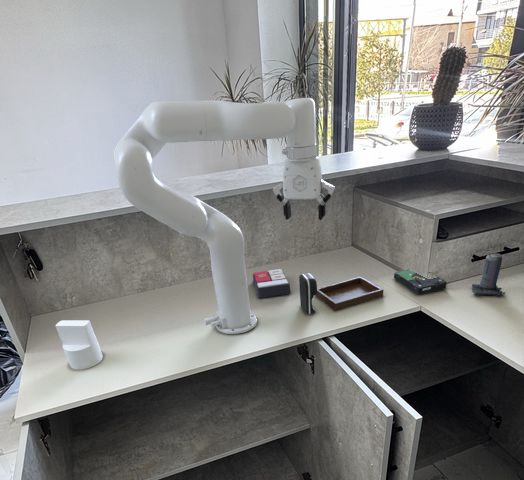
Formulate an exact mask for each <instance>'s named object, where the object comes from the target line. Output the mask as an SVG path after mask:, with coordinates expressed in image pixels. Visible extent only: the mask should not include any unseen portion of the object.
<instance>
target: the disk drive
mask: <svg viewBox="0 0 524 480" xmlns="http://www.w3.org/2000/svg"><path fill="white" fill-rule="evenodd" d="M409 269H410V268H407V269H404V270H399V271H395V273H394V274H393V279H394V280H395V281H397V282H398V283H400V284H401V285H403V286H404V287H406V288H407V289H409V290H410V291H411V292H412V293H415V294H416V295H418V296H420V295H424V294H429V293H433V292H437V291H442V290H445V289H447V281H446V280H445V279H443V278H441V277H439V276H438V277H437V278H433V279H427V278H425V277H423V276H421V275H419V274H417V273H415V272H413V271H411V270H409Z"/></svg>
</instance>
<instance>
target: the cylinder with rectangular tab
mask: <svg viewBox="0 0 524 480" xmlns="http://www.w3.org/2000/svg"><path fill="white" fill-rule="evenodd" d="M55 328H56V331H57V334H58V336H59V339H60V342H61V344H62V349H63V352H64V354H65V357H66V359H67V362H68V364H69V367H70V368H71V369H73V370H85V369H89V368H92V367H94V366H96V365H97V364H99V363H100V362H101V361H102V360H103V358H104V357H103V356H104V355H103V353H102V349H101V347H100V344H99V341H98V338H97V336H96V334H95V332H94V329H93V326H92V323H91V321H90V320H89V319H87V320H83V319H82V320H78V319H77V320H73V319H71V320H67V319H66V320H65V319H62V320H60V321H58V322H57V323H56V324H55Z"/></svg>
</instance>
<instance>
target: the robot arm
mask: <svg viewBox="0 0 524 480" xmlns="http://www.w3.org/2000/svg"><path fill="white" fill-rule="evenodd" d="M316 132H317V131H316V103H315V101H314V99H313V98H311V97H300V98H293V99H290V100H285V101H271V100H269V101H263V102H234V101H227V100H219V99H218V100H217V99H214V100H213V99H211V100H209V99H208V100H171V101H169V100H168V101H167V100H165V101H164V100H155V101H153V102H151V103H149V104H148V105H147V106H146V107H145V108H144V110H143V111H142V113H141V114H140V115H139V116H138V117H137V119H136V120H135V122H134V123H133V124H132V125H131V126H130V127H129V128H128V130H127V131H126V132H125V133H124V135H123V136H122V137H121V138H120V139H119V141H118V142H117V144H116V145H115V147H114V149H113V161H114V164H115V171H116V179H117V183H118V186H119V189H120V191H121V193H122V194H123V196H124V198H125V199H126V200H127V201H128V202H129V203H130V204H131V205H132V206H133V207H135V208H136V209H137V210H139V211H141V212H143V213H144V214H146V215H148V216H150V217H152V218H153V219H155V220H156V221H157V222H160V223H162V224H164V225H165V226H167V227H169V228H171V229H173V230H175V232H178V233H179V234H180V235H183V236H186V237H196V238H197V239H200V240H201V241H203V242H205V244H206V245H207V247H208V249H209V257H210V267H211V269H210V270H211V276H212V281H213V287H214V293H215V299H216V304H217V310H216V311H215V314H214V315H213V316H211V317H206V318H203V323H204V325H205V326H209V325H210V326H211V328H213V327H215V328H216V330H217V331H218V332H220V333H222V334H225V335H238V334H243V333H247V332H249V331H250V330H253V328H255V327H256V326H257V323H258V319H257V316H256V315H255V314H253V313H252V312H251V305H250V303H251V302H250V295H249V285H248V278H247V270H246V260H245V251H246V250H245V249H246V248H245V245H246V244H245V238H244V234H243V232H242V230H241V228H240V227H239V226H238V225H237V224H236V223H235V222H234V221H233V220H232V219H231V218H229V216H227V215H226V214H224V213H223V212H221V211H220V210H218V209H216V208H214V207H213V206H211V205H209V204H208V203H206V202H204V201H202V200H201V199H199V198H198V197H196V196H194V195H192V194H190V193H187V192H179V191H177V190H175V189H173V188H171V187H170V186H169V185H167V184H165V183H164V182H162V181H160V180H158V178H157V177H156V176H155V174H154V169H153V168H154V163H153V161H154V159H155V157H156V156H157V155H158V154H159V153H160V152H161V150H162V149H163V148H164V147H165V145H166V144H171V143H172V144H173V143H177V144H178V143H190V142H191V143H193V142H194V143H195V142H218V141H220V142H228V141H243V140H246V141H248V140H249V141H251V140H272V139H273V140H274V139H275V140H276V139H283V138H286V140H285V141H286V147H285V148H282V150H281V154H282V155H285V156H286V158H285V159H284V162H283V172H282V173H283V175H282V177H283V178H282V179H283V181H282V182H281V183H279V184H278V185H277V186H275V187H273V188H272V192H273V194H274V195H275V196H276V199H277V200H278V201H279V202H280V203H281V206H282V208H283V216H284V218H285V220H289V219H290V218H291V217H292V206H291V202H290V200H316V201H317V202H318V203H319V204H318V206H317V208H318V210H317V211H318V220H319V221H322V220H323V219H324V218H325V216H326V204H327V202H328V201H329V200H330V199H331V198H332V196H333V194H334V193H335V190H336V187H335V186H334V185H333V184H330V183H329V182H327V181H325V180H323V175H322V167H321V161H320V157H319V156H317V133H316ZM323 189H325V190H327V193H326V195H325V196H324V194H323V191H324V190H323ZM281 190H283V192H282V193H283V194H282V193H281Z"/></svg>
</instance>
